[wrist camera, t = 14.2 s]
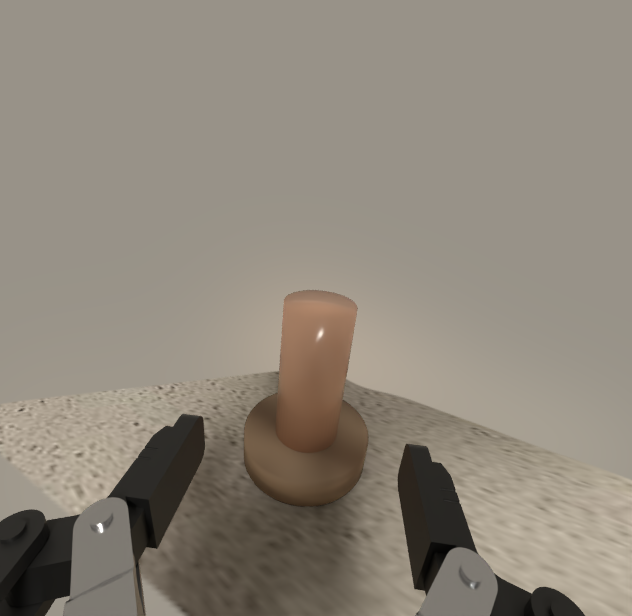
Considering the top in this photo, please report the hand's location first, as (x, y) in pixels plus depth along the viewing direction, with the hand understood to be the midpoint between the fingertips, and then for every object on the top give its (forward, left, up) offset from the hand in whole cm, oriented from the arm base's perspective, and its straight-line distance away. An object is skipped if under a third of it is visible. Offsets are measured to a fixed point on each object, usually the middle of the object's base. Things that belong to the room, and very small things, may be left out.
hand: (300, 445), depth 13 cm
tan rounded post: (-3, -10, -9) cm, 14 cm away
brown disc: (-4, -10, -12) cm, 16 cm away
